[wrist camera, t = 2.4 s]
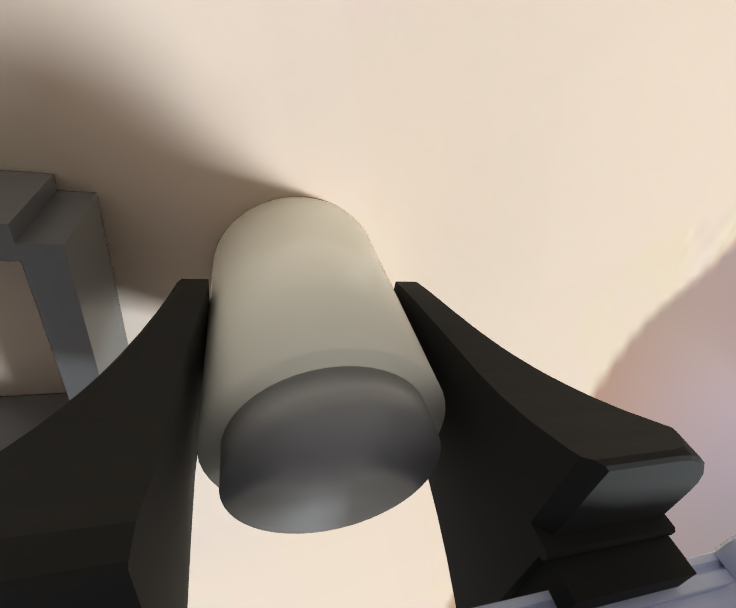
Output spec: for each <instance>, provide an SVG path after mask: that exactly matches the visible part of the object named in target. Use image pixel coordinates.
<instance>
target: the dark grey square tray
mask: <svg viewBox="0 0 736 608" xmlns="http://www.w3.org/2000/svg"><path fill="white" fill-rule="evenodd" d="M0 261H21V263H22V266H23V269H24V272H25V275H26V277H27V280H28V283H29V286H30V289H31V292H32V295H33V297H34V300H35V303H36V306H37V309H38V312H39V315H40V317H41V320H42V323H43V326H44V329H45V332H46V335H47V337H48V340H49V343H50V346H51V349H52V352H53V355H54V357H55V360H56V363H57V366H58V369H59V372H60V375H61V378H62V380H63V383H64V386H65V389H66V392H67V393H65V394H47V395H29V396H10V397H0V451H1V450H3V449H4V448H6V447H7V446H9V445H10V444H12V443H13V442H15V441H16V440H17V439H19V438H20V437H22V436H23V435H25V434H26V433H28V432H29V431H31V430H32V429H33V428H35V427H36V426H38V425H39V424H40V423H42V422H43V421H44V420H46V419H47V418H48V417H50V416H51V415H52V414H53V413H55V412H56V411H57V410H58V409H60V408H61V407H62V406H63V405H65V404H66V403H67V402H68V401H70V400H71V399H72V398H73V397H75V396H76V395H77V394H78V393H79V392H81V391H82V390H83V389H84V388H85V387H86V386H87V385H89V384H90V383H91V382H92V381H93V380H94V379H95V378H96V377H98V376H99V375H100V374H101V373H102V372H103V371H104V370H105V369H106V368H107V367H108V366H109V365H110V364H111V363H112V362H113V361H114V360H115V359H116V358H117V357H118V356H119V355H120V354H121V353H122V352H123V351H124V350H125V349H126V347H127V346H128V343H127V338H126V333H125V328H124V323H123V319H122V314H121V309H120V304H119V299H118V295H117V290H116V285H115V280H114V275H113V271H112V266H111V261H110V256H109V251H108V247H107V242H106V237H105V232H104V227H103V223H102V218H101V213H100V208H99V203H98V198H97V194H96V193H87V192H71V191H57V187H56V183H55V179H54V176H53V174H46V173H32V172H18V171H4V170H0Z"/></svg>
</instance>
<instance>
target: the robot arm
mask: <svg viewBox="0 0 736 608" xmlns="http://www.w3.org/2000/svg"><path fill="white" fill-rule="evenodd" d="M394 291H395V293H396V295H397V297H398V299H399V302H400V304H401V306H402V308H403V310H404V312H405V314H406V316H407V318H408V320H409V322H410V324H411V327H412V329H413V331H414V333H415V335H416V337H417V339H418V341H419V343H420V345H421V347H422V349H423V352H424V354H425V356H426V358H427V360H428V362H429V364H430V366H431V368H432V370H433V372H434V374H435V377H436V379H437V381H438V383H439V385H440V387H441V389H442V391H443V395H444V399H445V416H444V421H443V424H442V427H441V430H440V432H439V433H438V435H439V438H440V442H441V452H440V458H439V460H438V463H437V466H436V467H435V469H434V471H433V473H432V474H431V475H430V477H429V478H428V479H429V483H430V487H431V491H432V495H433V499H434V503H435V507H436V511H437V515H438V520H439V524H440V529H441V533H442V538H443V543H444V547H445V552H446V556H447V561H448V566H449V572H450V577H451V582H452V587H453V593H454V598H455V604H456V608H736V535H735V536H732V537H731V538H729V539H727V540H726V541H724V542H723V543H722V544H720V545H719V546H718V547H717V548H715V552H711V553H707V554H703V555H698V556H694V557H689V558H685V557H684V555H683V554H682V553H681V551H680V550H679V549H678V547H677V546H676V545H675V544H674V542H673V541H672V540H671V538H670V537H669V536H668V535H672V534H673V533H674V532H675V527H674V526H673V524H672V523H671V522H670V520H669V519H668V518H667V517H666V515H665V513H666V512H667V511H668V510H669V509H670V508H671V507H673V506H674V505H675V504H676V503H677V502H678V501H679V500H680V499H681V498H683V497H684V496H685V495H686V494H687V493H688V492H689V491H690V490H691V489H692V488H693V487H694V486H695V485H696V484H697V483H698V482H699V480H700V479H701V477H702V475H703V471H704V462H703V460H702V459H701V458H700V456H698V454H697V453H696V452H695V451H694V450H693V449H692V448H691V447H690V446H689V445H688V444H687V442H686V441H685V440H684V439H683V438H682V437H681V436H680V435H679V434H678V433H677V432H676V431H675V430H674V429H673V428H671V427H669V426H666V425H663V424H660V423H657V422H654V421H652V420H649V419H646V418H644V417H641V416H638V415H635V414H632V413H630V412H627V411H624V410H622V409H619V408H617V407H615V406H612V405H610V404H608V403H605V402H603V401H600V400H598V399H596V398H593V397H591V396H589V395H587V394H585V393H583V392H580V391H578V390H576V389H574V388H572V387H570V386H568V385H566V384H564V383H562V382H560V381H558V380H556V379H554V378H552V377H550V376H548V375H547V374H545V373H543V372H541V371H539V370H538V369H536V368H534V367H532V366H531V365H529V364H527V363H526V362H524V361H523V360H521V359H519V358H518V357H516V356H514V355H513V354H511V353H510V352H508V351H506V350H505V349H503V348H502V347H500V346H499V345H498V344H496V343H495V342H493V341H492V340H491V339H489V338H488V337H486V336H485V335H484V334H482V333H481V332H480V331H478V330H477V329H476V328H474V327H473V326H472V325H470V324H469V323H468V322H466V321H465V320H464V319H463V318H461V317H460V316H459V315H458V314H456V313H455V312H454V311H453V310H451V309H450V308H449V307H448V306H446V305H445V304H444V303H443V302H442V301H440V300H439V299H438V298H437V297H435V296H434V295H433V294H432V293H430V292H429V291H428V290H427V289H425V288H424V287H423V286H421V285H420V284H419V283H417V282H396V283H395V287H394ZM209 303H210V300H209V282H208V279H181V280H180V281H179V282H177V283H176V285H175V287H174V288H173V290H172V291H171V293H170V294H169V296H168V297H167V299H166V300H165V302H164V303H163V304H162V306H161V307H160V308H159V310H158V311H157V312H156V314H155V315H154V316H153V317H152V319H151V320H150V321H149V322H148V323H147V325H146V326H145V327H144V328H143V330H142V331H141V332H140V333H139V334H138V336H137V337H136V338H135V339H134V340H133V341H132V342H131V343H130V344H129V345H128V346H127V347H126V349H125V350H124V351H123V352H122V353H121V354H120V355H119V356H118V357H117V358H116V359H115V360H114V361H113V362H112V363H111V364H110V365H109V366H108V367H107V368H106V369H105V370H104V371H103V372H102V373H101V374H100V375H99V376H98V377H96V378H95V379H94V380H93V381H92V382H91V383H90V384H89V385H87V386H86V387H85V388H84V389H83V390H82V391H81V392H79V393H78V394H77V395H76V396H75V397H73V398H72V399H71V400H70V401H68V402H67V403H66V404H65V405H63V406H62V407H61V408H60V409H58V410H57V411H56V412H55V413H53V414H52V415H51V416H50V417H48V418H47V419H46V420H44V421H43V422H42V423H40V424H39V425H38V426H36V427H35V428H33V429H32V430H31V431H29V432H28V433H26V434H25V435H23V436H22V437H20V438H19V439H17V440H16V441H15V442H13V443H12V444H10V445H9V446H7V447H6V448H4V449H3V450H1V451H0V608H187V604H188V584H189V565H190V547H191V530H192V512H193V497H194V481H195V470H196V462H197V437H198V426H199V415H200V403H201V392H202V381H203V370H204V359H205V347H206V336H207V326H208V314H209Z"/></svg>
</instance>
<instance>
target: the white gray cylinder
mask: <svg viewBox="0 0 736 608" xmlns="http://www.w3.org/2000/svg"><path fill="white" fill-rule="evenodd" d="M444 416H445V399H444V395H443V391H442V389H441V387H440V385H439V383H438V381H437V379H436V377H435V374H434V372H433V370H432V368H431V366H430V364H429V362H428V360H427V358H426V356H425V354H424V352H423V349H422V347H421V345H420V343H419V341H418V339H417V337H416V335H415V333H414V331H413V329H412V327H411V324H410V322H409V320H408V318H407V316H406V314H405V312H404V310H403V308H402V306H401V304H400V302H399V299H398V297H397V295H396V293H395V291H394V289H393V287H392V285H391V283H390V281H389V279H388V276H387V274H386V272H385V270H384V268H383V266H382V264H381V262H380V260H379V258H378V256H377V254H376V251H375V249H374V247H373V245H372V243H371V241H370V239H369V237H368V235H367V233H366V231H365V230H364V229H363V227H362V226H361V224H360V223H359V222H358V221H357V220H356V219H355V218H354V217H353V216H352V215H350V214H349V213H348V212H346V211H345V210H343V209H341V208H340V207H338V206H336V205H334V204H331V203H329V202H326V201H322V200H319V199H314V198H307V197H288V198H280V199H276V200H272V201H268V202H265V203H263V204H260V205H257V206H256V207H254V208H252V209H250V210H248V211H247V212H245V213H244V214H242V215H241V216H240V217H238V218H237V219H236V220H235V221H234V222H233V223H232V224H231V225H230V226H229V227H228V229H227V230H226V231H225V232H224V234H223V236H222V237H221V239H220V241H219V243H218V245H217V248H216V251H215V255H214V260H213V269H212V280H211V292H210V303H209V314H208V326H207V336H206V347H205V359H204V370H203V381H202V392H201V403H200V415H199V426H198V437H197V454H198V459H199V463H200V465H201V467H202V469H203V471H204V472H205V474H206V475H207V476H208V478H209V479H210V480H211V481H212V482H213V483H214V484H216V485H217V486H218V487H219V494H220V499H221V501H222V503H223V506H224V507H225V509H226V510H227V511H228V512H229V513H230V514H231V515H232V516H233V517H234V518H236V519H237V520H239V521H241V522H242V523H244V524H246V525H249V526H251V527H254V528H257V529H261V530H264V531H270V532H276V533H295V534H300V533H314V532H322V531H328V530H333V529H338V528H342V527H346V526H350V525H353V524H356V523H359V522H362V521H365V520H367V519H370V518H372V517H375V516H377V515H379V514H381V513H383V512H385V511H387V510H389V509H391V508H393V507H395V506H396V505H398V504H399V503H401V502H402V501H404V500H405V499H407V498H408V497H409V496H411V495H412V494H413V493H414V492H416V491H417V490H418V489H419V488H420V487H421V486H422V485H423V484H424V483H425V482H426V481H427V479H428V478H429V477H430V475H431V474H432V473H433V471H434V469H435V467H436V466H437V463H438V460H439V458H440V452H441V442H440V438H439V435H438V433H439V432H440V430H441V427H442V424H443V421H444Z"/></svg>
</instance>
